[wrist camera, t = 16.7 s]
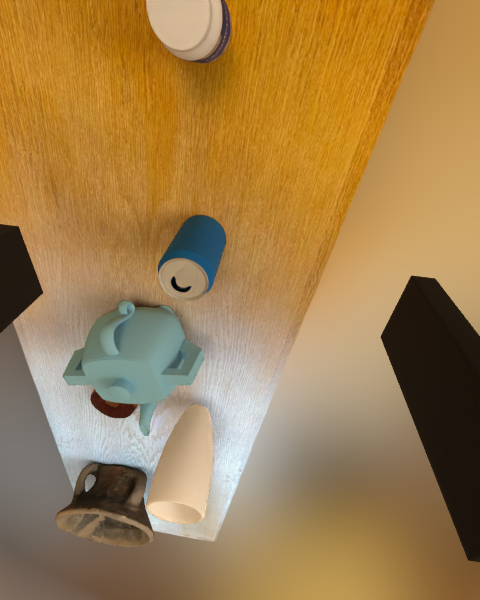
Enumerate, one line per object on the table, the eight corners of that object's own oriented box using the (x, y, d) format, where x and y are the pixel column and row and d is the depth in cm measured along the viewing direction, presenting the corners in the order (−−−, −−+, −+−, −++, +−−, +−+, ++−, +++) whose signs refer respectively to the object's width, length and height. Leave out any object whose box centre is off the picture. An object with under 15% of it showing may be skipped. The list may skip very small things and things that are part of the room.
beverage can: (174, 239, 44) (145, 285, 35) (194, 203, 41) (169, 243, 31) (212, 262, 46) (195, 313, 36) (235, 230, 42) (223, 276, 33)
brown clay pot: (166, 499, 102) (152, 555, 90) (88, 484, 101) (63, 539, 89) (170, 462, 86) (153, 525, 74) (77, 445, 85) (44, 505, 73)
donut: (88, 378, 66) (78, 394, 63) (130, 378, 65) (122, 394, 61) (106, 406, 72) (98, 422, 69) (145, 406, 70) (139, 422, 67)
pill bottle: (222, 73, 32) (204, 72, 24) (170, 50, 31) (133, 42, 23) (240, 0, 29) (226, -28, 21) (181, -27, 28) (143, -67, 20)
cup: (168, 393, 67) (130, 505, 49) (203, 378, 62) (174, 494, 45) (199, 418, 71) (174, 528, 54) (234, 405, 67) (219, 520, 49)
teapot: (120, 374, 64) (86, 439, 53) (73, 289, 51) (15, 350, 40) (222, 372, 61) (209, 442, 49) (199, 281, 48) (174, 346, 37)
